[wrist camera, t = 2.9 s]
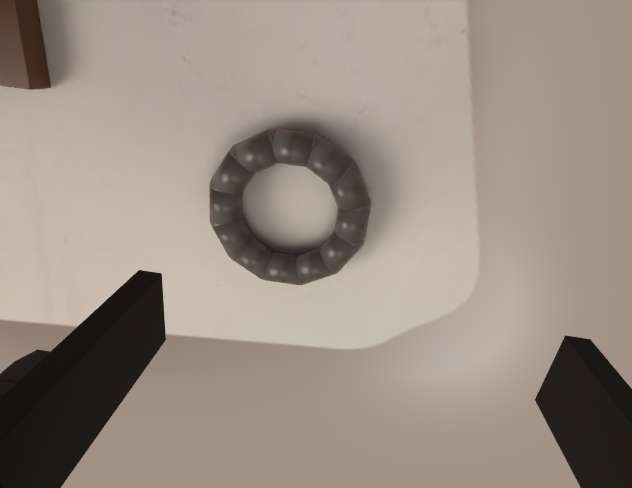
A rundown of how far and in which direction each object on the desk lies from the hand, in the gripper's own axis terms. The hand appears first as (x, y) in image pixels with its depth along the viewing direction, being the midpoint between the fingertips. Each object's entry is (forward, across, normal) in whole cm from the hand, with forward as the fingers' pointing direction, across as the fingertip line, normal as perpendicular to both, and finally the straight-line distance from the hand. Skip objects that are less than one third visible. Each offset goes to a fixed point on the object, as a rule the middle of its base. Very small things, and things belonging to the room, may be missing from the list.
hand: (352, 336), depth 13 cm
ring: (+10, -4, 0) cm, 11 cm away
